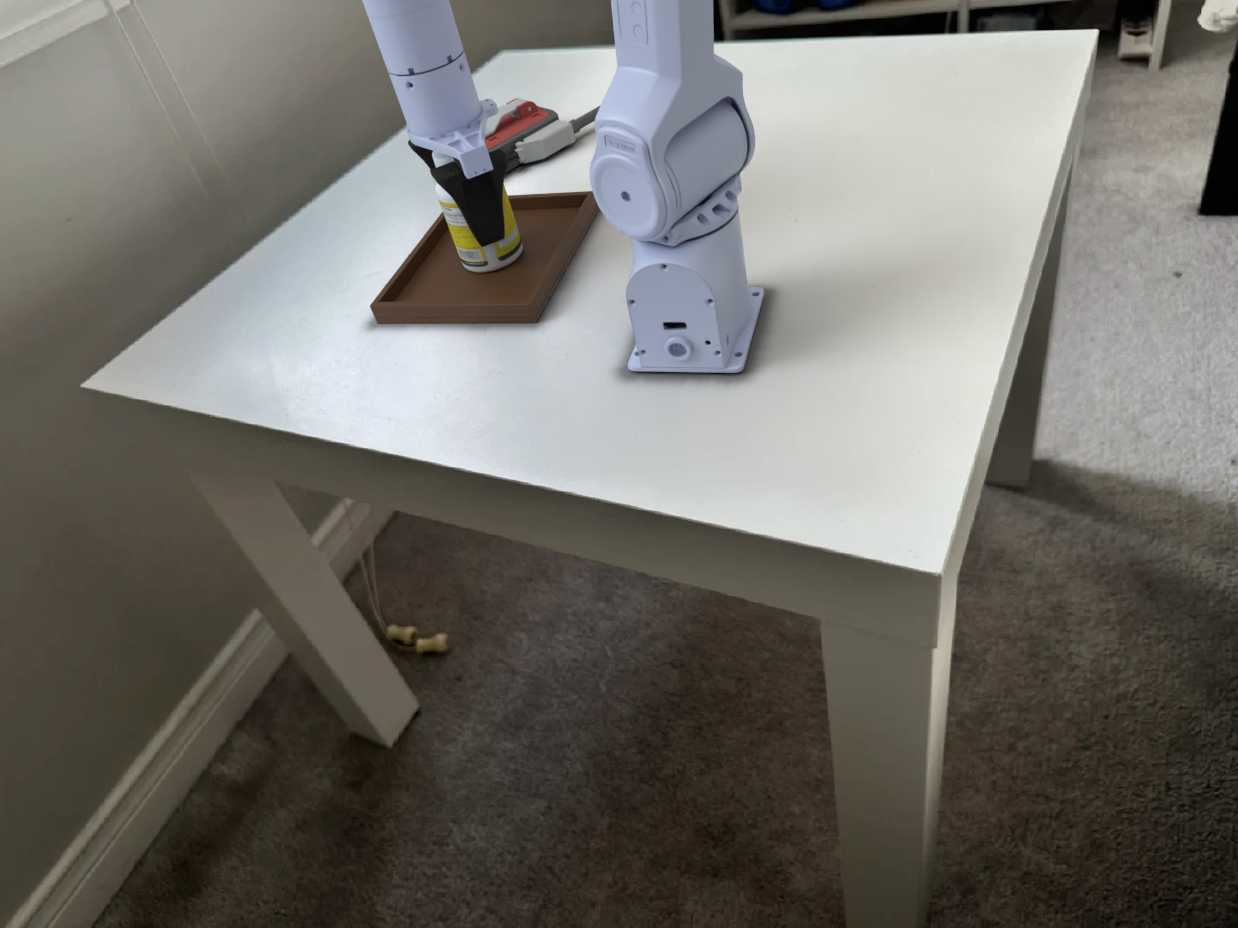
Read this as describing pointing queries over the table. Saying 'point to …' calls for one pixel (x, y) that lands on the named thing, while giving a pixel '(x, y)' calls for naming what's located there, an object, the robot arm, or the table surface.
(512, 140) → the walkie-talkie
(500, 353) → the table surface
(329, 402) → the table surface
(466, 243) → the supplement bottle
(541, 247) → the tray
